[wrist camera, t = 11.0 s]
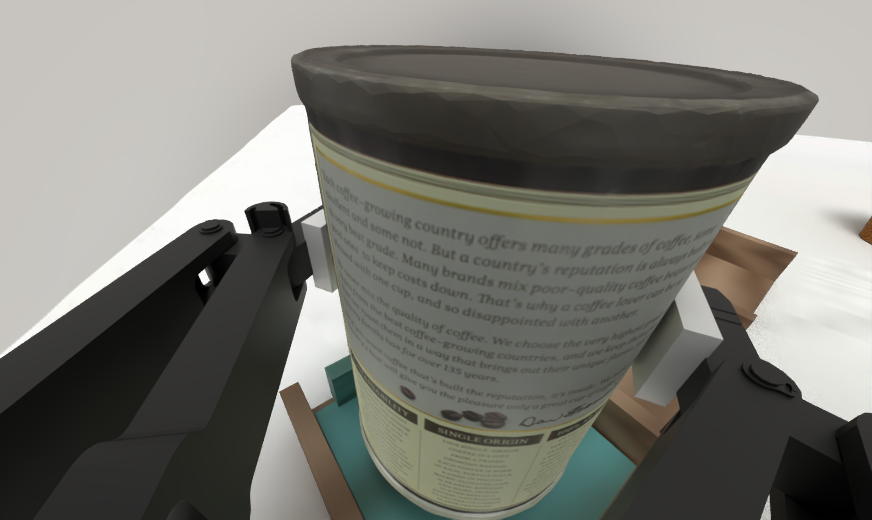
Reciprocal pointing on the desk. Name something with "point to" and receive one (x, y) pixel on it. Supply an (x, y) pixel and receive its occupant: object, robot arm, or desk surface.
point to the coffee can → (516, 241)
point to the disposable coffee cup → (867, 232)
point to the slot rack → (594, 456)
